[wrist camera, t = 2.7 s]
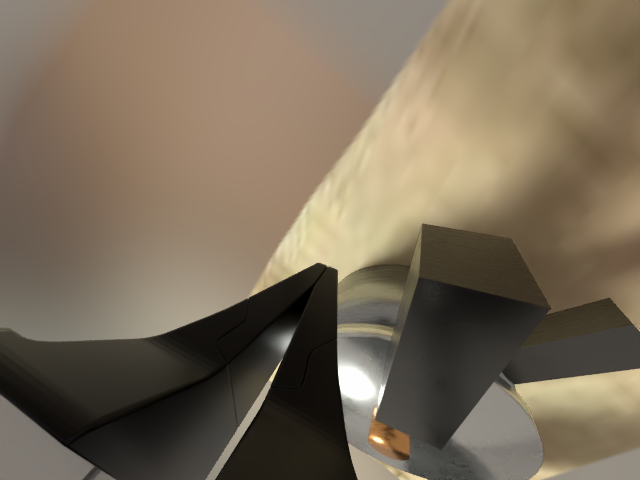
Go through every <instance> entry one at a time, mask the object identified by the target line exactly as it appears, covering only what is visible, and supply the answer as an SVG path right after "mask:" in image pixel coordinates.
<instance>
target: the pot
mask: <svg viewBox="0 0 640 480" xmlns="http://www.w3.org/2000/svg"><path fill="white" fill-rule="evenodd" d="M410 267H411V266H402V265H382V266H374V267H369V268H365V269H362V270H359V271H356V272H354V273H352V274H351V275H349V276H347V277H346V278H344V279H343V280H342V281H341V282H340V283H339V284H338V318H337V325H340V324H374V325H382V326H388V327H393V328H394V325H395V322H396V318H397V314H398V311H399V307H400V303H401V300H402V296H403V292H404V289H405V285H406V281H407V278H408V274H409V270H410ZM639 368H640V332H639V331H638V329H637V328H636V327H635V326H634V325H633V324H632V323H631V321H630V320H629V319H628V318H627V317H626V316H625V315H624V314H623V312H622V311H621V310H620V309H619V308H618V307H617V306H616V305H615V303H614V302H613V301H612V300H611V299H610V298H607V299H603V300H600V301H596V302H592V303H588V304H585V305H581V306H577V307H574V308H570V309H566V310H563V311H559V312H555V313H552V314H548V315H545V316H544V318H543V319H542V320H541V322H540V323H539V324H538V325H537V327H536V328H535V329H534V331H533V332H532V333H531V335H530V336H529V337H528V338H527V340H526V341H525V342H524V344H523V345H522V346H521V348H520V349H519V350H518V351H517V353H516V354H515V355H514V357H513V358H512V359H511V360H510V362H509V363H508V364H507V366H506V367H505V368H504V370H503V371H502V372H501V373H500V375H499V376H500V377H501V378H502V379H504V380H505V381H506V382H507V383H508V384H509V385H510V386H511V387H512V388H513V389H514V390H515V391H516V389H515V385H514V384H521V383H529V382H537V381H544V380H552V379H560V378H568V377H576V376H584V375H592V374H599V373H607V372H615V371H623V370H631V369H639Z"/></svg>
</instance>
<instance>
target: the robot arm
mask: <svg viewBox="0 0 640 480" xmlns="http://www.w3.org/2000/svg"><path fill="white" fill-rule="evenodd" d="M337 318H338V270H337V269H334V268H332V267H327V265H324V264H321V263H316V264H314V265H312V266H310V267H308V268H306V269H304V270H302V271H300V272H298V273H297V274H295V275H293V276H291V277H289V278H287V279H285V280H283V281H281V282H279V283H277V284H275V285H273V286H271V287H269V288H267V289H265V290H263V291H261V292H259V293H257V294H255V295H253V296H251V297H249V299H245V300H243V301H241V302H239V303H237V304H235V305H233V306H231V307H229V308H227V309H225V310H222V311H220V312H217V313H215V314H213V315H210V316H208V317H205V318H203V319H200V320H198V321H195V322H193V323H190V324H188V325H185V326H182V327H180V328H177V329H175V330H172V331H170V332H167V333H164V334H161V335H157V336H153V337H148V338H140V339H115V340H89V341H61V342H47V341H36V340H32V339H27V338H25V337H23V336H21V335H20V334H19V333H17V332H15V331H14V330H13V329H11V328H8V327H1V328H0V480H205V479H206V478H207V476H208V475H209V473H210V471H211V470H212V468H213V467H214V465H215V463H216V462H217V460H218V459H219V457H220V456H221V454H222V452H223V451H224V449H225V448H226V446H227V445H228V443H229V441H230V440H231V438H232V437H233V435H234V434H235V432H236V430H237V428H238V427H239V426H240V424H241V422H242V421H243V419H244V418H245V416H246V415H247V413H248V411H249V410H250V408H251V407H252V405H253V404H254V402H255V400H256V399H257V397H258V396H259V394H260V392H261V391H262V389H263V387H264V386H265V384H266V383H267V381H268V380H269V378H270V377H271V375H272V374H273V372H274V370H275V369H276V367H277V366H278V364H279V363H280V361H281V359H282V358H283V359H282V361H281V363H280V366H279V368H278V370H277V373H276V375H275V377H274V380H273V382H272V384H271V388H270V389H269V391H268V393H267V396H266V398H265V400H264V402H263V404H262V406H261V408H260V410H259V411H258V413H257V414H256V416H255V417H254V419H253V421H252V422H251V424H250V426H249V427H248V429H247V430H246V432H245V434H244V435H243V436H242V438H241V440H240V441H239V443H238V444H237V446H236V448H235V449H234V451H233V452H232V454H231V456H230V457H229V459H228V460H227V462H226V463H225V465H224V467H223V468H222V470H221V471H220V473H219V475H218V476H217V478H216V479H215V480H358V479H357V476H356V473H355V470H354V467H353V464H352V460H351V456H350V451H349V446H348V441H347V435H346V428H345V421H344V413H343V405H342V398H341V390H340V382H339V372H338V353H337ZM283 356H284V357H283ZM428 480H430V479H428Z"/></svg>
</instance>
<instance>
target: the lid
mask: <svg viewBox="0 0 640 480" xmlns="http://www.w3.org/2000/svg"><path fill="white" fill-rule="evenodd" d="M550 309H551V308H550V306H549V304H548V303H547V301H546V299H545V297H544V296H543V294H542V292H541V290H540V289H539V287H538V285H537V283H536V282H535V280H534V278H533V276H532V275H531V273H530V271H529V269H528V268H527V266H526V264H525V262H524V260H523V259H522V257H521V255H520V253H519V252H518V250H517V248H516V246H515V245H514V243H513V241H512V239H509V238H503V237H497V236H491V235H485V234H480V233H474V232H468V231H462V230H456V229H450V228H445V227H439V226H433V225H427V224H422V226H421V230H420V234H419V237H418V241H417V245H416V248H415V252H414V256H413V259H412V263H411V267H410V270H409V274H408V278H407V281H406V285H405V289H404V292H403V296H402V300H401V303H400V307H399V311H398V314H397V318H396V322H395V325H394V328H393V327H388V326H382V325H374V324H340V325H337V353H338V372H339V382H340V390H341V398H342V405H343V413H344V421H345V428H346V435H347V441H348V443H349V444H351V445H352V446H354V447H356V448H357V449H359V450H361V451H362V452H364V453H366V454H368V455H370V456H371V457H373V458H375V459H377V460H379V461H382V462H384V463H386V464H388V465H390V466H393V467H395V468H397V469H400V470H402V471H405V472H408V473H411V474H413V475H416V476H420V477H423V478H426V479H430V480H529V479H530V478H531V477H533V476H534V475H535V474H536V473H537V472H538V471H539V469H540V467H541V466H542V462H543V457H544V453H543V447H542V442H541V439H540V436H539V433H538V430H537V427H536V424H535V421H534V418H533V416H532V414H531V411H530V409H529V408H528V406H527V405H526V403H525V402H524V400H523V399H522V398H521V396H520V395H519V394H518V393H517V392H516V391H515V390H514V389H513V388H512V387H511V386H510V385H509V384H508V383H507V382H506V381H505V380H504V379H502V378H501V377H500V376H499V375H500V373H501V372H502V371H503V370H504V368H505V367H506V366H507V364H508V363H509V362H510V360H511V359H512V358H513V357H514V355H515V354H516V353H517V351H518V350H519V349H520V348H521V346H522V345H523V344H524V342H525V341H526V340H527V338H528V337H529V336H530V335H531V333H532V332H533V331H534V329H535V328H536V327H537V325H538V324H539V323H540V322H541V320H542V319H543V318H544V316H545V315H546V314H547V312H548V311H549V310H550Z"/></svg>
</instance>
